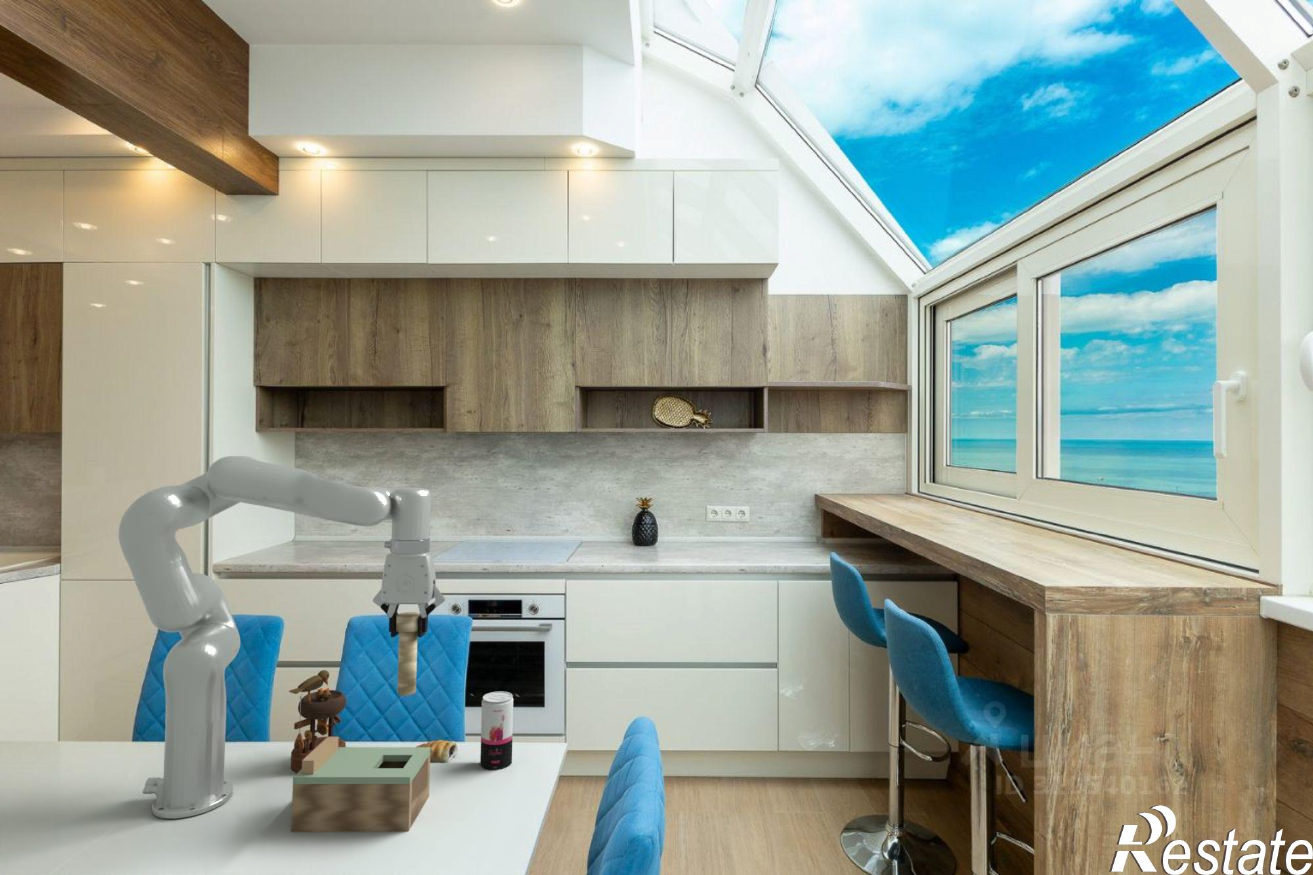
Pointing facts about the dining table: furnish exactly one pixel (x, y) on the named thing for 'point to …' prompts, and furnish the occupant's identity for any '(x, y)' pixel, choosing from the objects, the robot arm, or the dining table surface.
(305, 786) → the wooden box
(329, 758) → the green box lid
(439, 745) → the pastry
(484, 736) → the beverage can
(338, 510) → the robot arm
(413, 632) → the pin
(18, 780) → the dining table surface
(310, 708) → the music box
